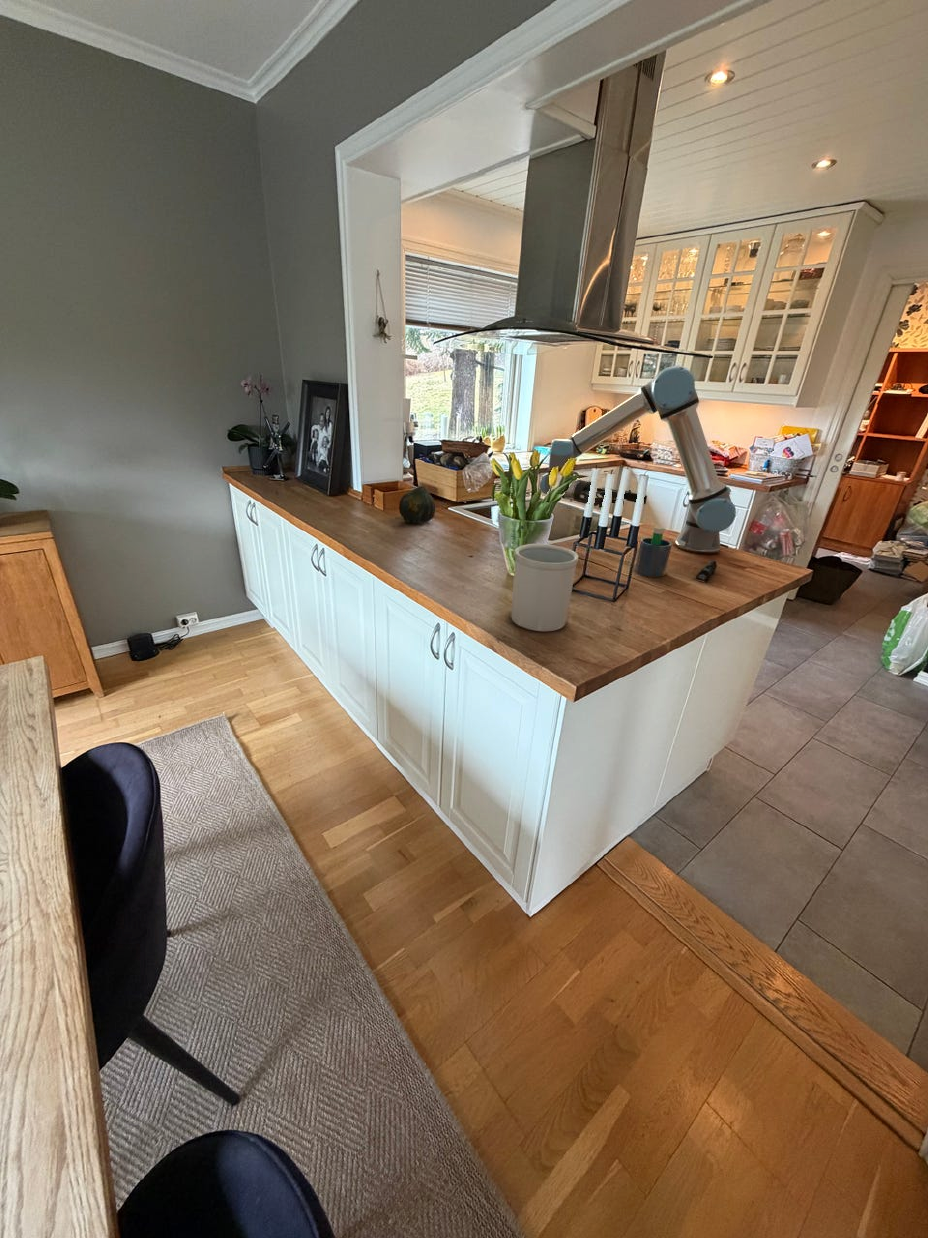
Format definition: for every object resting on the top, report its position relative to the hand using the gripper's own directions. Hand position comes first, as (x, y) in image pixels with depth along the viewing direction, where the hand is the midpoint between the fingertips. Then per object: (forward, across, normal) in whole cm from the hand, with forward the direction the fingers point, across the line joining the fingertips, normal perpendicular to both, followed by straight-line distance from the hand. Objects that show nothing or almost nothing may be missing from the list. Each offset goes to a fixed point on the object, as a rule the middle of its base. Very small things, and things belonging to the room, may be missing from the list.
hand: (634, 502), depth 153 cm
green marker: (+10, 0, -20) cm, 22 cm away
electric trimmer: (+22, -12, -20) cm, 33 cm away
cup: (+10, 0, -20) cm, 23 cm away
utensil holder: (+10, +56, -20) cm, 60 cm away
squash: (-80, +26, -20) cm, 87 cm away
